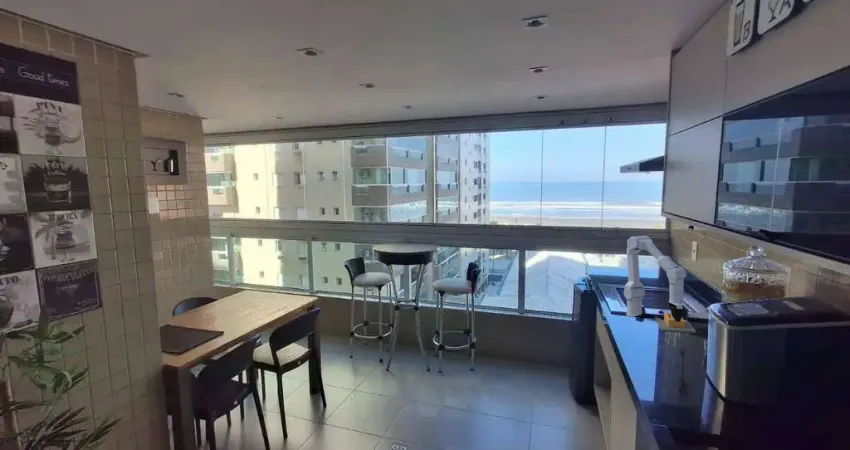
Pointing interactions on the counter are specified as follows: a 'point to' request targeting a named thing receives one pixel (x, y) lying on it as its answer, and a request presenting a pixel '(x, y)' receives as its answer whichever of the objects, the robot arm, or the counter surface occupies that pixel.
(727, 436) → the counter surface
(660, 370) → the counter surface
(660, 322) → the keeper plate
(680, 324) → the orange rectangular frame
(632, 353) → the counter surface
